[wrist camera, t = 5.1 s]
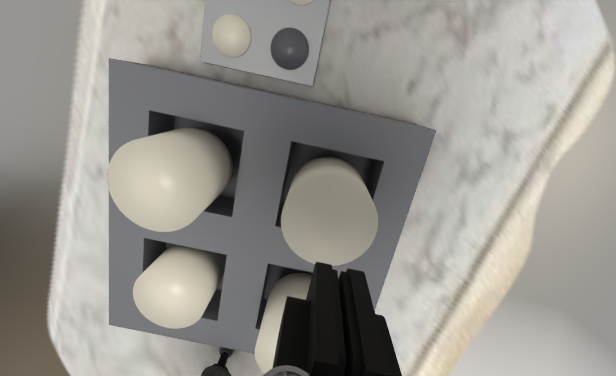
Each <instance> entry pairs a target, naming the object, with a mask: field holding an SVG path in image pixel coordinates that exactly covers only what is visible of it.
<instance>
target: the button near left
mask: <svg viewBox="0 0 616 376" xmlns="http://www.w3.org/2000/svg"><path fill="white" fill-rule="evenodd" d="M232 173H233V163H232V158H231V155H230V152H229V150H228V148H227V147H226V145H225V144H224V143H223V142H222V140H221V139H220V138H218V137H217V136H216V135H215V134H213V133H212V132H210V131H208V130H205V129H202V128H198V127H184V128H180V129H176V130H172V131H168V132H164V133H160V134H156V135H152V136H148V137H144V138H140V139H136V140H132V141H130V142H128V143H126V144H124V145H123V146H121V147H120V148H119V149H118V150H117V151H116V152H115V154H114V155H113V157H112V159H111V161H110V163H109V166H108V171H107V183H108V188H109V191H110V194H111V197H112V199H113V201H114V203H115V204H116V206H117V207H118V208H119V210H120V211H121V212H122V213H123V214H124V215H125V216H126V217H127V218H128V219H130V220H131V221H132V222H134V223H135V224H137V225H139V226H141V227H143V228H146V229H148V230H152V231H158V232H171V231H176V230H179V229H182V228H184V227H186V226H188V225H189V224H190V223H192V222H193V221H194V220H195V219H196V218H197V217H198V216H199V215H200V214H201V213H202V212H203V211H204V210H205V209H206V208H207V207H208V206H209V205H210V204H211V203H212V202H213V201H214V200H215V199H216V198H217V197H218V196H219V195H220V194H221V193H222V192H223V191H224V190H225V189H226V187H227V186H228V184H229V183H230V180H231V178H232Z"/></svg>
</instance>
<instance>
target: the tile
mask: <svg viewBox="0 0 616 376" xmlns="http://www.w3.org/2000/svg"><path fill="white" fill-rule="evenodd" d="M329 4H330V0H206V2H205V13H204V25H203V36H202V47H201V59H200V61H201V62H205V63H209V64H214V65H218V66H223V67H227V68H232V69H236V70H241V71H245V72H250V73H254V74H259V75H263V76H268V77H272V78H277V79H282V80H286V81H291V82H295V83H300V84H304V85H309V86H313V82H314V77H315V73H316V68H317V63H318V58H319V53H320V48H321V43H322V38H323V33H324V28H325V23H326V19H327V14H328V9H329Z"/></svg>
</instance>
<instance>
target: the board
mask: <svg viewBox="0 0 616 376" xmlns="http://www.w3.org/2000/svg"><path fill="white" fill-rule="evenodd" d="M184 127H198V128H202V129H205V130H208V131H210V132H212V133H213V134H215V135H216V136H217V137H218V138H220V139H221V140H222V142H223V143H224V144H225V145H226V147H227V148H228V150H229V152H230V155H231V158H232V163H233V173H232V178H231V180H230V183H229V184H228V186H227V187H226V189H225V190H224V191H223V192H222V193H221V194H220V195H219V196H218V197H217V198H216V199H215V200H214V201H213V202H212V203H211V204H210V205H209V206H208V207H207V208H206V209H205V210H204V211H203V212H202V213H201V214H200V215H199V216H198V217H197V218H196V219H195V220H194V221H193V222H192V223H190V224H189V225H188V226H186V227H184V228H182V229H179V230H176V231H171V232H158V231H152V230H148V229H146V228H143V227H141V226H139V225H137V224H135V223H134V222H132V221H131V220H130V219H128V218H127V217H126V216H125V215H124V214H123V213H122V212H121V211H120V210H119V208H118V207H117V206H116V204H115V203H114V201H113V199H112V197H111V194H110V191H109V325H113V326H118V327H123V328H128V329H133V330H138V331H143V332H148V333H153V334H158V335H163V336H168V337H173V338H178V339H183V340H188V341H193V342H198V343H203V344H208V345H213V346H218V347H223V348H228V349H233V350H238V351H244V352H249V353H254V354H255V346H256V342H257V338H258V335H259V331H260V327H261V323H262V319H263V315H264V311H265V308H266V304H267V300H268V296H269V292H270V290H271V288H272V286H273V285H274V283H275V282H276V281H277V280H279V279H280V278H282V277H284V276H286V275H288V274H292V273H307V274H311V275H312V274H313V270H314V266H315V264H313V263H310V262H308V261H306V260H304V259H302V258H301V257H299V256H298V255H297V254H296V253H294V252H293V251H292V249H291V248H290V247H289V246H288V244H287V243H286V241H285V239H284V236H283V233H282V229H281V214H282V210H283V207H284V204H285V201H286V198H287V195H288V192H289V189H290V186H291V183H292V180H293V178H294V176H295V174H296V172H297V171H298V170H299V168H301V167H302V166H303V165H304V164H305V163H307V162H308V161H310V160H312V159H315V158H318V157H325V156H331V157H337V158H340V159H343V160H345V161H347V162H348V163H350V164H351V165H352V166H354V167H355V168H356V170H357V171H358V172H359V174H360V176H361V177H362V180H363V182H364V184H365V186H366V188H367V190H368V192H369V194H370V196H371V198H372V200H373V202H374V204H375V207H376V210H377V214H378V229H377V233H376V236H375V239H374V241H373V242H372V244H371V245H370V247H369V248H368V249H367V250H366V251H365V252H364V253H363V254H362V255H361V256H360V257H358V258H357V259H355V260H353V261H351V262H349V263H346V264H343V265H338V266H332V269H334V270H337V273H338V279H339V275H340V273H341V271H343V272H346V271H347V269H348V268H350V269H354V270H359V271H363V272H364V273H365V276H366V280H367V284H368V288H369V292H370V296H371V300H372V304H373V307H374V311H375V308H376V305H377V302H378V299H379V296H380V293H381V290H382V287H383V284H384V281H385V278H386V276H387V273H388V270H389V267H390V264H391V261H392V258H393V255H394V252H395V249H396V246H397V243H398V241H399V238H400V235H401V232H402V229H403V226H404V223H405V220H406V217H407V214H408V211H409V208H410V206H411V203H412V200H413V197H414V194H415V191H416V188H417V185H418V182H419V179H420V176H421V173H422V171H423V168H424V165H425V162H426V159H427V156H428V153H429V150H430V147H431V144H432V141H433V138H434V136H435V133H436V130H433V129H430V128H427V127H424V126H421V125H417V124H414V123H409V122H404V121H400V120H395V119H391V118H386V117H382V116H377V115H373V114H368V113H364V112H359V111H355V110H350V109H346V108H341V107H337V106H332V105H327V104H323V103H318V102H314V101H309V100H305V99H300V98H296V97H291V96H287V95H282V94H278V93H273V92H269V91H264V90H260V89H255V88H250V87H246V86H241V85H237V84H232V83H228V82H223V81H219V80H214V79H210V78H205V77H201V76H196V75H192V74H187V73H182V72H178V71H173V70H169V69H164V68H160V67H155V66H151V65H146V64H140V63H134V62H128V61H122V60H116V59H110V58H109V163H110V161H111V159H112V157H113V155H114V154H115V152H116V151H117V150H118V149H119V148H120V147H121V146H123V145H124V144H126V143H128V142H130V141H132V140H136V139H140V138H144V137H148V136H152V135H156V134H160V133H164V132H168V131H172V130H176V129H180V128H184ZM171 244H176V245H181V246H186V247H191V248H196V249H201V250H206V251H210V252H215V253H220V254H225V255H227V257H226V264H225V271H224V276H223V278H222V280H221V281H220V283H219V285H218V287H217V289H216V291H215V293H214V294H213V296H212V298H211V300H210V302H209V304H208V306H207V308H206V309H205V311H204V313H203V315H202V317H201V318H200V319H199V320H198V321H197V322H196V323H194V324H193V325H191V326H188V327H185V328H179V329H172V328H166V327H162V326H159V325H157V324H155V323H153V322H151V321H150V320H148V319H147V318H146V317H145V316H144V315H143V314H142V313H141V312H140V311H139V309H138V308H137V306H136V304H135V302H134V298H133V287H134V284H135V282H136V280H137V278H138V277H139V276H140V275H141V274H142V273H143V272H144V271H145V270H146V269H147V268H148V267H149V266H150V265H151V264H152V263H153V262H154V261H155V260H156V259H157V258H158V257H159V256H160V255H161V254H162V253H163V252H164V251H165V250H166V249H167V248H168V247H169V246H170V245H171Z"/></svg>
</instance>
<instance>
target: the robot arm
mask: <svg viewBox="0 0 616 376" xmlns="http://www.w3.org/2000/svg"><path fill="white" fill-rule="evenodd" d="M263 376H402V375H401V371H400V368H399V364H398V361H397V358H396V354H395V351H394V347H393V344H392V340H391V337H390V334H389V330H388V327H387V323H386V320H385V318H384V317H383V316H381V315H377V314H375V311H374V307H373V304H372V300H371V296H370V292H369V288H368V284H367V280H366V276H365V273H364V272H363V271H359V270H354V269H350V268H348V269H347V271H346V272H343V271H341V273H340V275H339V279H338V273H337V270H334V269H332V265H331V264H326V263H321V262H316V263H315V266H314V270H313V274H312V278H311V282H310V286H309V290H308V293H307V297H306V300H304V299H300V298H295V297H290V296H287V298H286V302H285V306H284V311H283V315H282V320H281V325H280V329H279V334H278V340H277V345H276V351H275V356H274V362H273V368H272V369H270V370H269V371H268V372H267V373H266V374H264V375H263Z"/></svg>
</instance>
